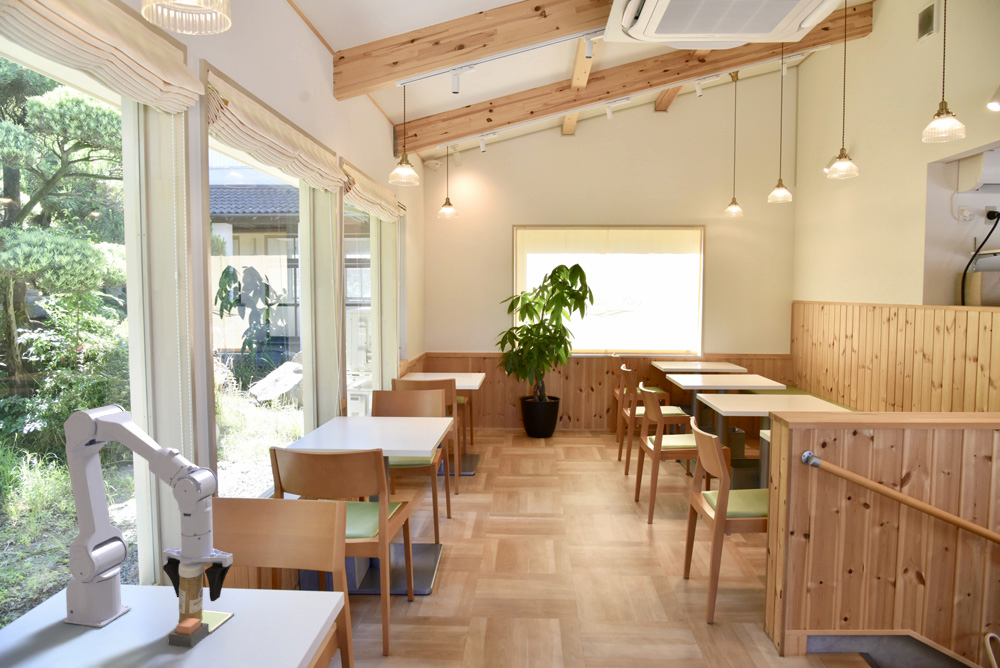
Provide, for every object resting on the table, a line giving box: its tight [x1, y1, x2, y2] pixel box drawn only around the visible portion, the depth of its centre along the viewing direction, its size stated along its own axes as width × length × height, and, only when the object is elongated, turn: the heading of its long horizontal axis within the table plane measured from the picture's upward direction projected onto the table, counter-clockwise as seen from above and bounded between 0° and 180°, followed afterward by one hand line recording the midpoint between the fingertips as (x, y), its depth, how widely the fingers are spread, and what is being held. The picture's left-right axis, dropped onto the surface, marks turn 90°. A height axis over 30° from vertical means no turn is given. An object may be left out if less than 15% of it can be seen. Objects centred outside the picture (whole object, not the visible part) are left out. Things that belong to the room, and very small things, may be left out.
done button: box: [175, 618, 201, 635], centre depth 122 cm, size 3×3×2 cm
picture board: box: [201, 609, 235, 635], centre depth 129 cm, size 8×8×1 cm
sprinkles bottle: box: [178, 562, 205, 624], centre depth 126 cm, size 5×5×13 cm
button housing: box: [167, 623, 210, 649], centre depth 123 cm, size 5×5×2 cm
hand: (198, 597), depth 127 cm, fingers open, 7 cm apart
